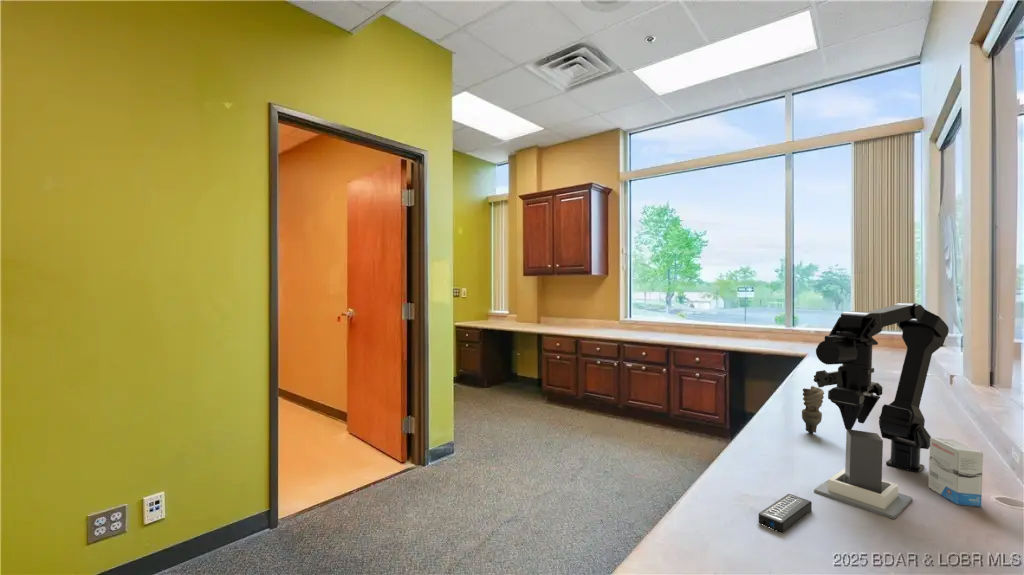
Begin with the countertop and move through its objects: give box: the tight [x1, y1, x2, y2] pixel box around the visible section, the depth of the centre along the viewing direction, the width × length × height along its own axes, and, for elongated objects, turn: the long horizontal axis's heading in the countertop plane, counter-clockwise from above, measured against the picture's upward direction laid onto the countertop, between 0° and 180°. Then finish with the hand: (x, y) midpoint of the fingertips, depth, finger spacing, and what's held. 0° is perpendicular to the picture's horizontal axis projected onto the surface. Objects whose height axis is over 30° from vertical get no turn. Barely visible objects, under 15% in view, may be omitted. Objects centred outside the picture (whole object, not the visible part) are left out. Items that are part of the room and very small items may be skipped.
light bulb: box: [801, 385, 825, 434], centre depth 139 cm, size 6×6×15 cm
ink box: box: [928, 437, 984, 507], centre depth 99 cm, size 8×5×12 cm, turn 168°
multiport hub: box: [758, 493, 813, 534], centre depth 89 cm, size 4×14×2 cm, turn 127°
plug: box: [844, 429, 884, 494], centre depth 98 cm, size 6×6×13 cm
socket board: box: [813, 468, 913, 520], centre depth 98 cm, size 14×14×3 cm
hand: (854, 426), depth 109 cm, fingers open, 9 cm apart
